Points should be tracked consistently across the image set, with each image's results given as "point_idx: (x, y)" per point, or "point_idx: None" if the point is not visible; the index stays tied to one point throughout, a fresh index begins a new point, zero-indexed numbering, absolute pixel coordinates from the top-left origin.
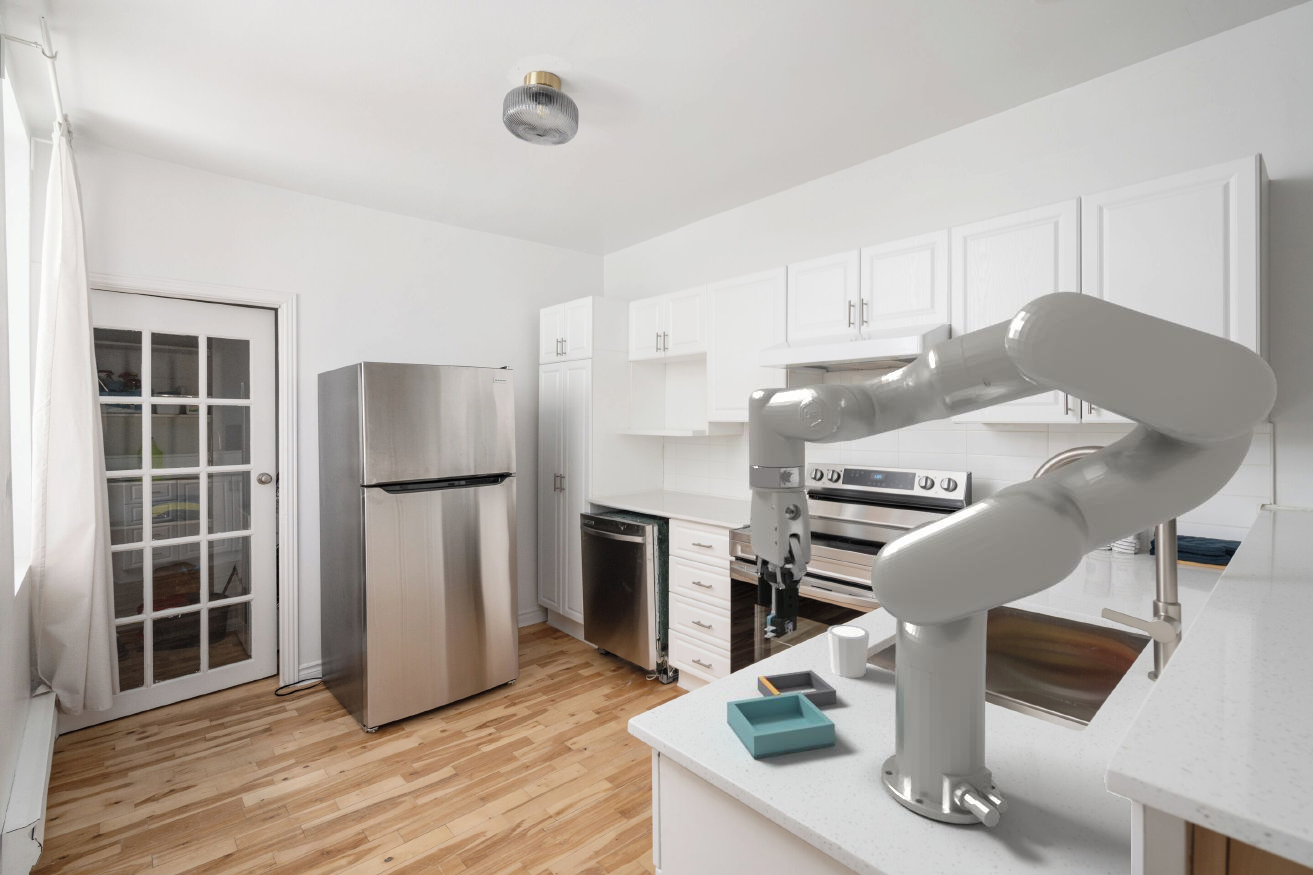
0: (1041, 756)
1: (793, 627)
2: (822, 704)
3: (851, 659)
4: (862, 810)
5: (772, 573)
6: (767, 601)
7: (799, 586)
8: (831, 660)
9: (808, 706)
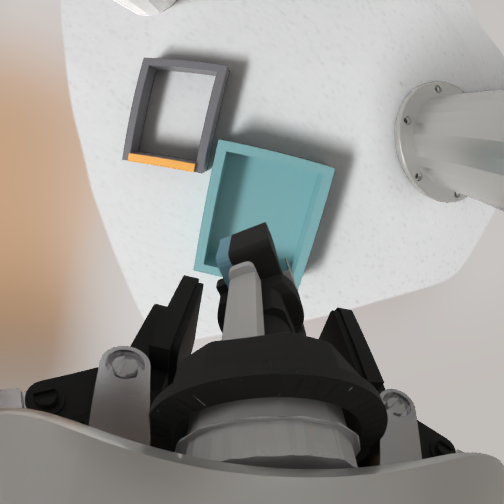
0: (443, 5)
1: (274, 245)
2: (223, 93)
3: None
4: (421, 238)
5: None
6: (194, 331)
7: (405, 398)
8: (134, 10)
9: (265, 159)
